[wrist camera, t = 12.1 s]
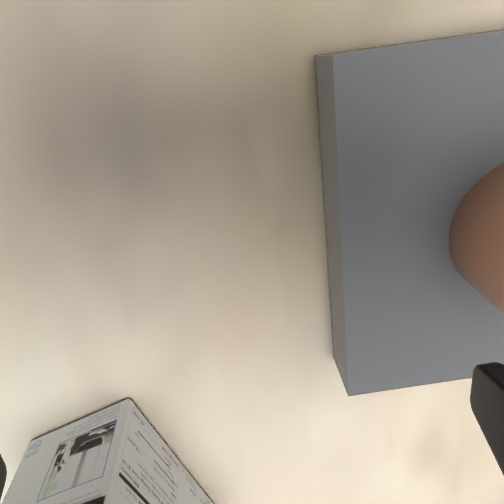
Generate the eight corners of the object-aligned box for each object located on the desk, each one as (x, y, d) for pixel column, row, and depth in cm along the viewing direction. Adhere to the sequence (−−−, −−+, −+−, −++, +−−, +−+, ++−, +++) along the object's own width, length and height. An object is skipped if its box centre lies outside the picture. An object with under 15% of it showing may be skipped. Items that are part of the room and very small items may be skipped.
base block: (333, 357, 24) (348, 396, 21) (315, 55, 18) (332, 56, 15) (605, 316, 24) (655, 350, 22) (679, 5, 18) (761, -3, 16)
